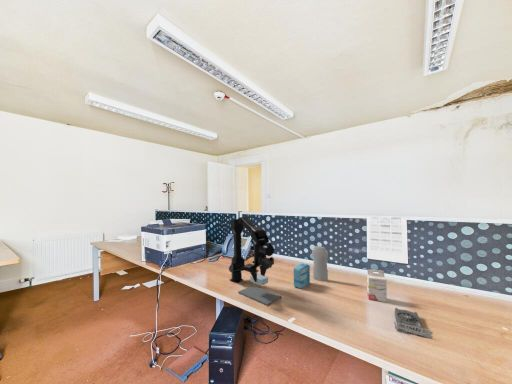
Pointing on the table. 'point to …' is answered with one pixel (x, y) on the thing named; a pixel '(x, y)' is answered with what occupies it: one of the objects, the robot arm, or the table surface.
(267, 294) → the mat
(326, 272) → the tall pale column
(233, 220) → the robot arm
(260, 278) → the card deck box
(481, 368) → the table surface
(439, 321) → the table surface
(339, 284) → the table surface
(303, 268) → the data package
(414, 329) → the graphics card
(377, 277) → the ink cartridge box
